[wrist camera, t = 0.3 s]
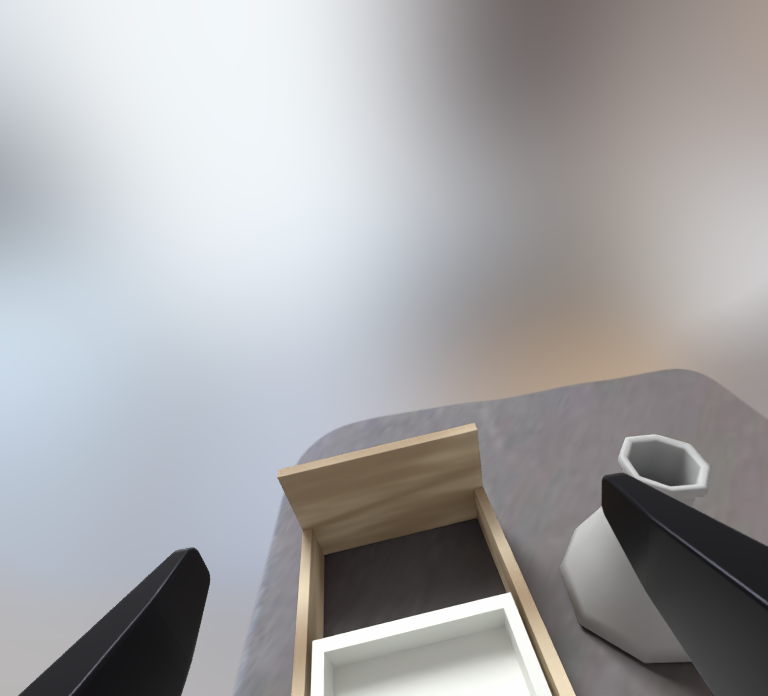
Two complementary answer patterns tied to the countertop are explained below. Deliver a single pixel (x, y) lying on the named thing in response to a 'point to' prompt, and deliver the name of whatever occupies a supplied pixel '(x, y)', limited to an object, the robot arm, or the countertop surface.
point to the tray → (433, 655)
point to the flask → (611, 566)
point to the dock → (398, 525)
